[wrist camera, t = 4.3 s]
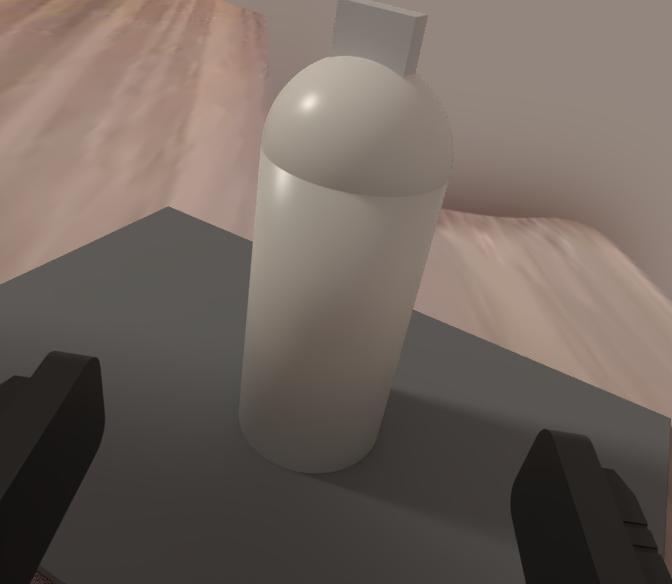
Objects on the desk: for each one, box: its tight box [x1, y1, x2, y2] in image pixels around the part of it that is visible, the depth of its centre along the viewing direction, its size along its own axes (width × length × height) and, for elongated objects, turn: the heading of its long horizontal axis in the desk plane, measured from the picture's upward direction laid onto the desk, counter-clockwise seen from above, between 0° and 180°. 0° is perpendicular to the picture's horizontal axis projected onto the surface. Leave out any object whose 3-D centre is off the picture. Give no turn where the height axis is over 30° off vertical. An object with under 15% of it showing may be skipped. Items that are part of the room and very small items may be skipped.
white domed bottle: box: [239, 0, 453, 473], centre depth 16 cm, size 5×5×12 cm
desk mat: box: [0, 206, 671, 584], centre depth 20 cm, size 24×16×1 cm, turn 61°
